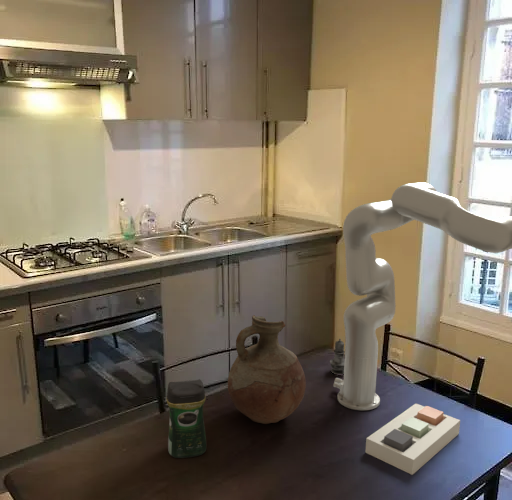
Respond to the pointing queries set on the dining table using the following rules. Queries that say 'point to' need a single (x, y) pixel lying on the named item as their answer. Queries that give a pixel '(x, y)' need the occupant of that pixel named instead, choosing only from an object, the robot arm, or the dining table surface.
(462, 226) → the robot arm
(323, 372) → the dining table surface
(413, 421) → the sage button
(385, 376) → the dining table surface
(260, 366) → the jug
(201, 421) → the coffee jar
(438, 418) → the terracotta button
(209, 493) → the dining table surface
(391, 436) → the charcoal button
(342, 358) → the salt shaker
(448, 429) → the button panel
